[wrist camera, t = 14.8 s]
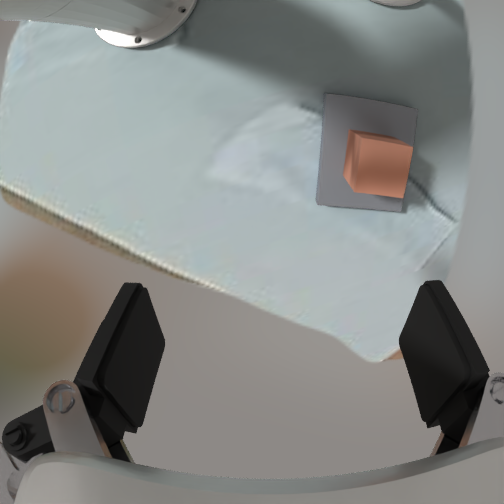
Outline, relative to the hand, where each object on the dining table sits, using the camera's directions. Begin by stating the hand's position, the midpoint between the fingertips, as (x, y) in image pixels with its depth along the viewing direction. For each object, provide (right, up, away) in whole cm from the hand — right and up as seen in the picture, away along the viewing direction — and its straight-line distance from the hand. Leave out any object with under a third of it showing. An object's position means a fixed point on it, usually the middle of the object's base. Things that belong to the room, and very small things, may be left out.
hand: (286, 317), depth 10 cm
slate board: (+11, +13, +19) cm, 26 cm away
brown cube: (+11, +12, +18) cm, 24 cm away
